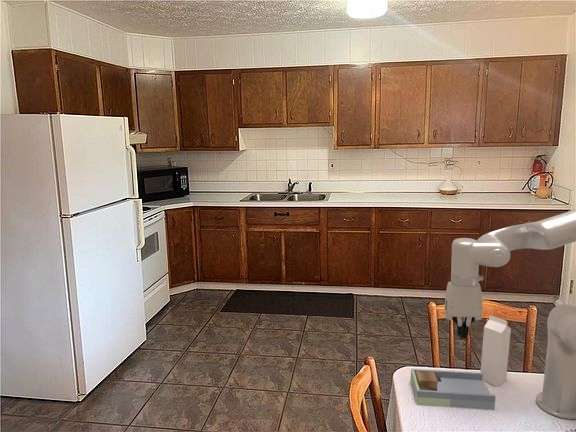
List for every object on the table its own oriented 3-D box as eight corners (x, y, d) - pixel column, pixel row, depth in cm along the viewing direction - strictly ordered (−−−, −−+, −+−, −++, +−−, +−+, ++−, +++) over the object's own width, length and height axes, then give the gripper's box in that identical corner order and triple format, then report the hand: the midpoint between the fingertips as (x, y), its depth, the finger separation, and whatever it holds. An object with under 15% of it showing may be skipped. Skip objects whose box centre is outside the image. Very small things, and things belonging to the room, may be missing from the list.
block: (433, 382, 141) (434, 372, 140) (436, 391, 135) (437, 381, 135) (415, 381, 141) (416, 371, 141) (418, 390, 136) (419, 380, 135)
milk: (497, 387, 142) (502, 323, 138) (479, 379, 147) (484, 317, 143) (506, 380, 146) (512, 319, 142) (488, 373, 151) (494, 313, 147)
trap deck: (480, 385, 143) (482, 373, 142) (494, 409, 130) (495, 396, 130) (410, 381, 146) (411, 368, 145) (416, 404, 133) (417, 391, 132)
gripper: (486, 275, 134) (484, 332, 137) (436, 275, 136) (434, 331, 139) (494, 283, 126) (492, 343, 129) (441, 283, 128) (439, 342, 131)
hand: (462, 336), depth 134 cm, fingers closed
